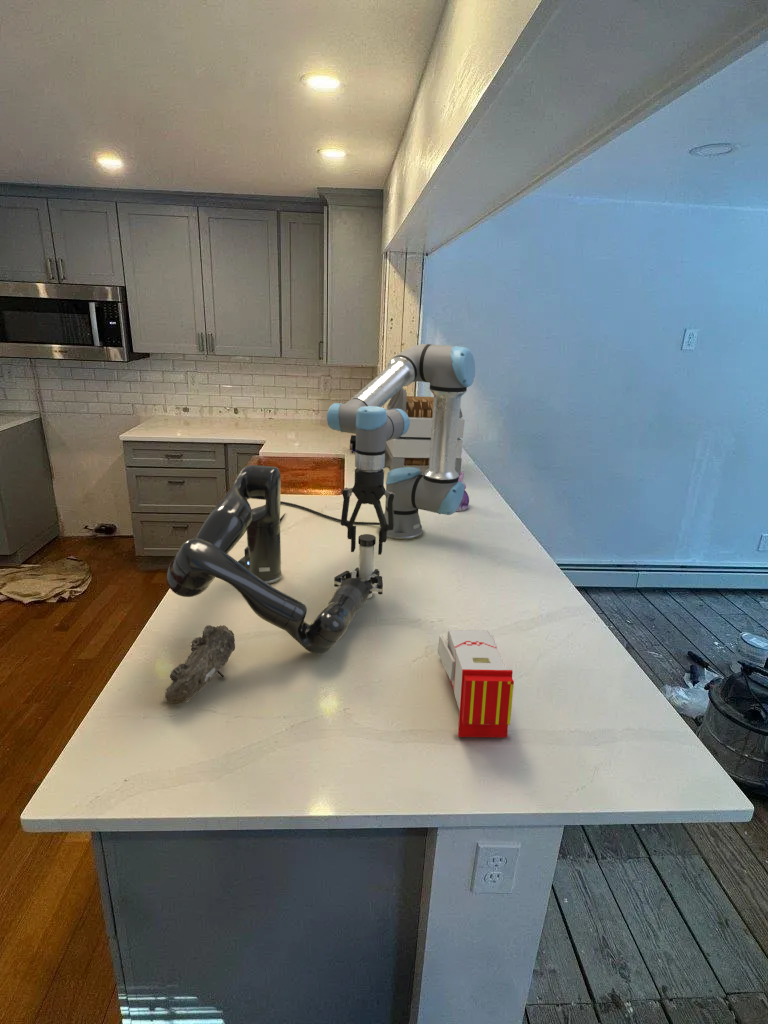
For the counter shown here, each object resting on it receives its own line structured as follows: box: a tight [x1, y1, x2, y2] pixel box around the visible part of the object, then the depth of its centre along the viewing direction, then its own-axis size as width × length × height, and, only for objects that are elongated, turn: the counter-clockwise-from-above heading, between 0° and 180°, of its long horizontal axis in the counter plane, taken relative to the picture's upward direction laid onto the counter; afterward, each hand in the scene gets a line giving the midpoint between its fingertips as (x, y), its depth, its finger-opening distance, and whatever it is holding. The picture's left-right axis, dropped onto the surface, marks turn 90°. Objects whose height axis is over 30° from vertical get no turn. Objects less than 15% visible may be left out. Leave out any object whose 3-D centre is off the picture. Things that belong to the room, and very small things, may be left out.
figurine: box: [455, 470, 470, 512], centre depth 226 cm, size 9×10×15 cm
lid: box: [357, 533, 377, 546], centre depth 151 cm, size 5×5×2 cm
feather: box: [280, 513, 286, 523], centre depth 210 cm, size 2×28×2 cm
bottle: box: [358, 544, 375, 599], centre depth 154 cm, size 4×4×17 cm
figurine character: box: [349, 434, 356, 454], centre depth 310 cm, size 7×8×15 cm
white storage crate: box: [384, 387, 465, 475], centre depth 268 cm, size 34×33×41 cm
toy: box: [437, 628, 515, 738], centre depth 117 cm, size 12×13×30 cm
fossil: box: [165, 624, 236, 705], centre depth 118 cm, size 22×10×15 cm
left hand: (368, 570), depth 157 cm, fingers closed on bottle, 4 cm apart
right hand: (366, 551), depth 152 cm, fingers open, 7 cm apart
